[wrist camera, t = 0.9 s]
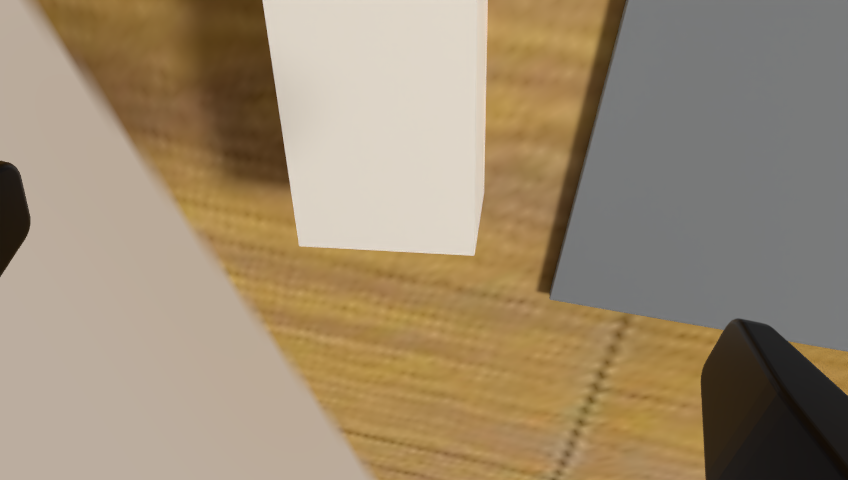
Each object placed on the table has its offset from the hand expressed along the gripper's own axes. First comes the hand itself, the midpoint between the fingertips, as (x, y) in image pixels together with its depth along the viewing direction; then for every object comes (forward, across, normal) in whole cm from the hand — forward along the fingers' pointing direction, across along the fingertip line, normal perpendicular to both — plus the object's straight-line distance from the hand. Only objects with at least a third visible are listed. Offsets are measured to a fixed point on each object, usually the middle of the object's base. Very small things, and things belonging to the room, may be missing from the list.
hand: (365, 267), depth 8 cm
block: (+13, +2, +1) cm, 13 cm away
